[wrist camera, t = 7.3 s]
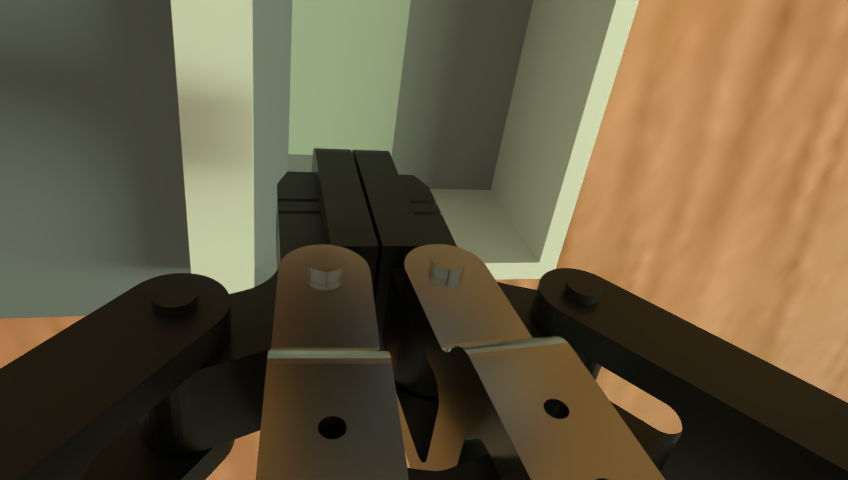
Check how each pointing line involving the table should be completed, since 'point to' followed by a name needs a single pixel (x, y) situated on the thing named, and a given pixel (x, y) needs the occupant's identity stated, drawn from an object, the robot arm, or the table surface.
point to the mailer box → (465, 106)
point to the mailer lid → (138, 146)
